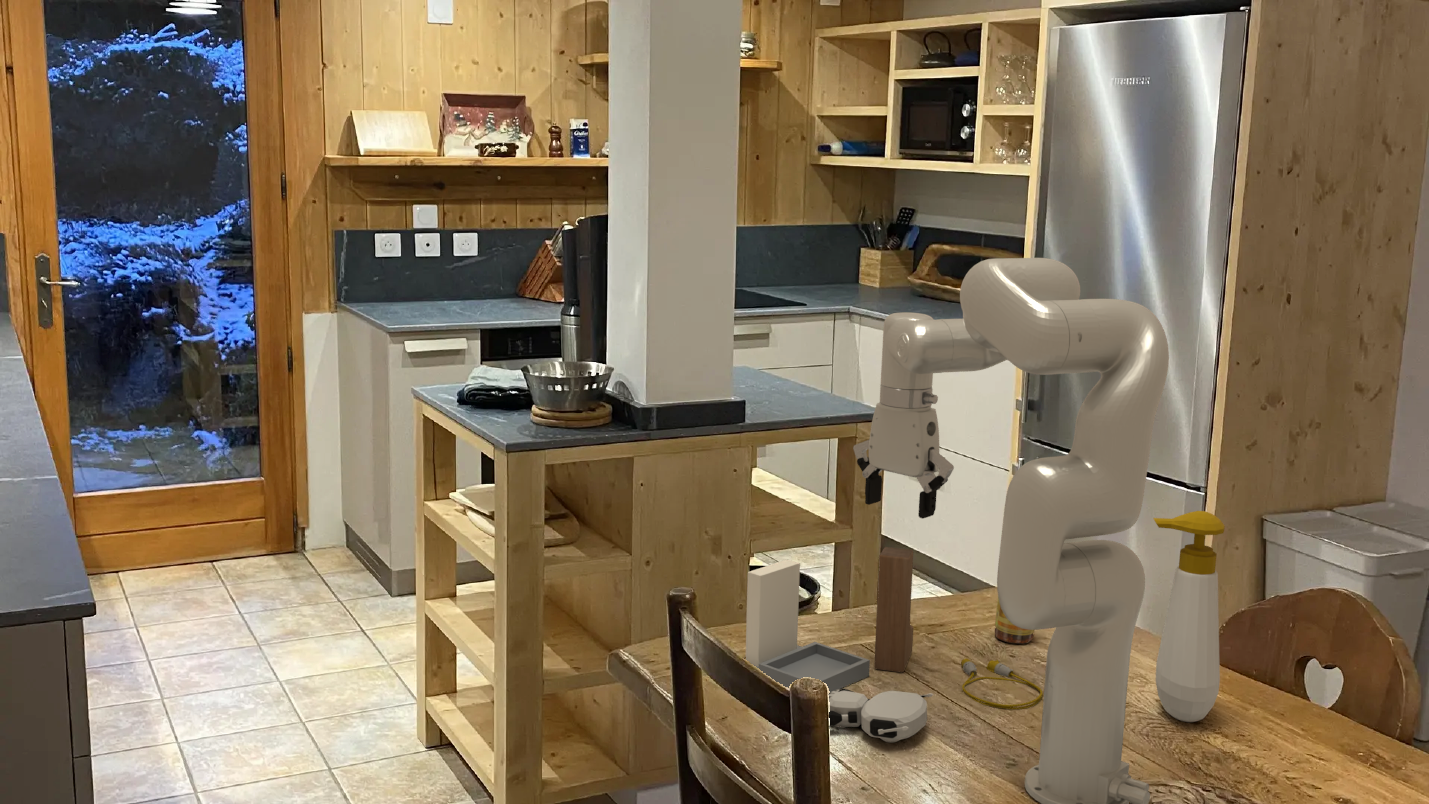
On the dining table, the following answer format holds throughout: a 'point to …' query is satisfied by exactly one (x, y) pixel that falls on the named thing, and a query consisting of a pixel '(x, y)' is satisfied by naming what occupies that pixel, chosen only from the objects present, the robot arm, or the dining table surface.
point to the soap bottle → (1191, 624)
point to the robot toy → (879, 713)
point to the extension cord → (1001, 670)
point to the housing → (790, 633)
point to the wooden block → (894, 610)
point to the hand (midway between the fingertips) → (899, 509)
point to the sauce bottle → (1010, 629)
